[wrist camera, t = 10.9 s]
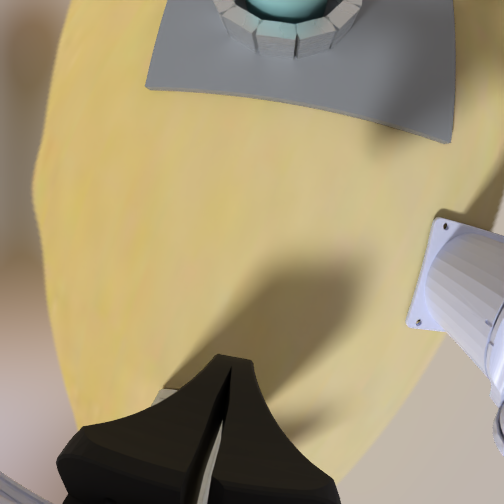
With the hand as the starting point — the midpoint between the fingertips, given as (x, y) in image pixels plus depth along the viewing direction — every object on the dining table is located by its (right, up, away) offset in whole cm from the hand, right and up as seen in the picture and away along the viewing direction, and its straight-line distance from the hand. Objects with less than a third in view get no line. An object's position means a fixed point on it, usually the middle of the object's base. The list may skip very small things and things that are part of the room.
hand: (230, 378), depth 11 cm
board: (+5, +20, +6) cm, 22 cm away
